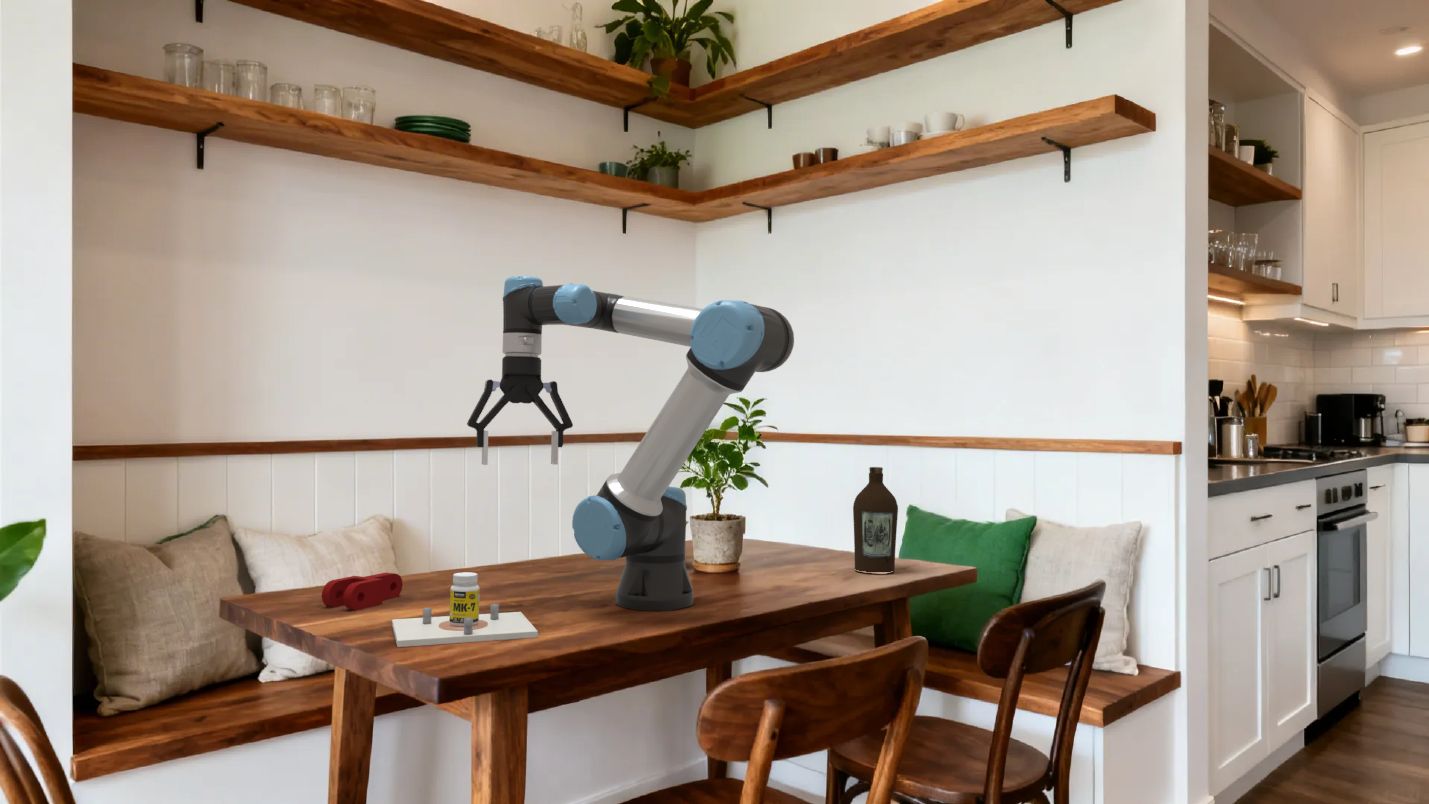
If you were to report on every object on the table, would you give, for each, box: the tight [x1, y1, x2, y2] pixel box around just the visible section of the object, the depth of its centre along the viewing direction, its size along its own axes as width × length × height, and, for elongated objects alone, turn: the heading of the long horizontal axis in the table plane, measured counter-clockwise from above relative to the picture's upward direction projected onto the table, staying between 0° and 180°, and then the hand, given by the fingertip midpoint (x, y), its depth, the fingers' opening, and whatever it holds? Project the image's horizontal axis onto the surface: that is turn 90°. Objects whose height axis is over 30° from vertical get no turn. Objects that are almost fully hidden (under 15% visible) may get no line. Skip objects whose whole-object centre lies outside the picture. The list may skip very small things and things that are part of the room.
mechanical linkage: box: [321, 572, 404, 611], centre depth 183 cm, size 16×7×5 cm, turn 156°
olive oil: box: [852, 466, 899, 572], centre depth 229 cm, size 11×11×25 cm
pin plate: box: [391, 603, 539, 648], centre depth 161 cm, size 22×16×4 cm
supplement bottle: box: [449, 571, 481, 627], centre depth 161 cm, size 5×5×8 cm
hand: (519, 464), depth 187 cm, fingers open, 13 cm apart
